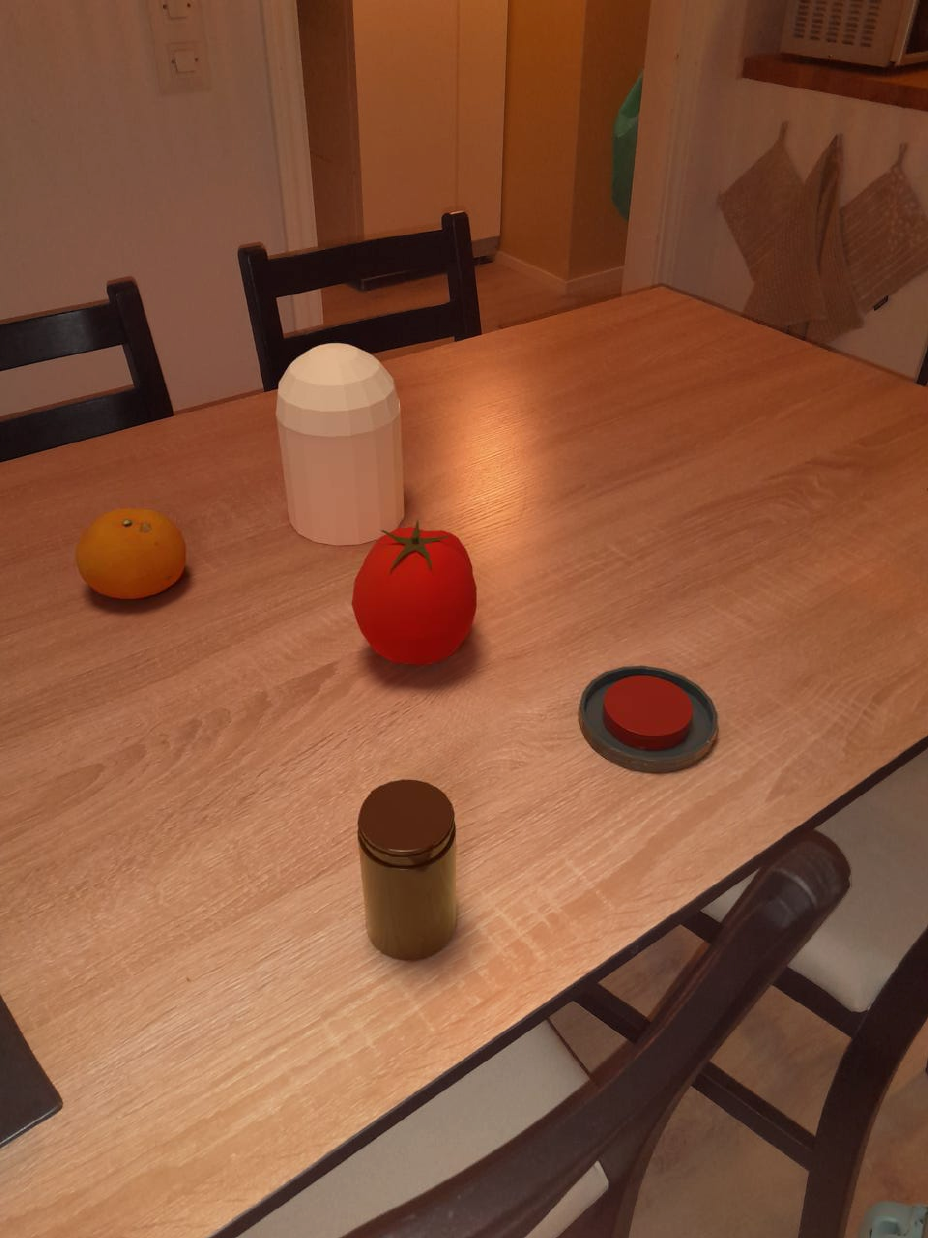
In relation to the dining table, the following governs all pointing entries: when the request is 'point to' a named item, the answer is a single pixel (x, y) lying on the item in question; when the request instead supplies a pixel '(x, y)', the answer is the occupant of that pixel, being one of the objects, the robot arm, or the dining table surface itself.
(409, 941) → the jar
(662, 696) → the lid
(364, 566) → the tomato
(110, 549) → the fruit
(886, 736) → the dining table surface
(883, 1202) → the robot arm
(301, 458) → the container
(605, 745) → the saucer
